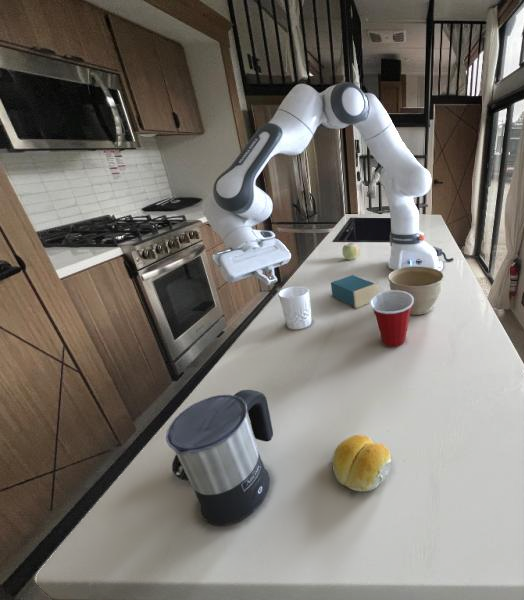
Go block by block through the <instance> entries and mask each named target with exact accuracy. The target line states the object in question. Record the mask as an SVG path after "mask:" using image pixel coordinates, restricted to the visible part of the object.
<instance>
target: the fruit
mask: <svg viewBox="0 0 524 600" xmlns="http://www.w3.org/2000/svg"><path fill="white" fill-rule="evenodd" d="M341 251H342V256H343V257H344V258H345V259H346V260H355V259H357V258H359V255H360V247H359V245H358V244H356V243H354V242H349V243H346V244H344V245H343V247H342V250H341Z"/></svg>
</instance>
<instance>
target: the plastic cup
mask: <svg viewBox="0 0 524 600" xmlns="http://www.w3.org/2000/svg"><path fill="white" fill-rule="evenodd" d="M413 303H414V298H413V296H412V295H411V294H409V293H407V292H405V291H399V290H392V291H391V290H386V291H385V290H384V291H381V292H378V294H377V295H375V296H374V297H372V298H371V299H370V303H368V304H369V306H370V308H371V310H372V311H373V314H374V316H375V320H376V324H377V327H378V332H379V334H380V339H381V342H382V343H383V345H385V346H386V347H390V348H397V347H400V346H402V345H404V343H405V341H406V336H407V332H408V328H409V327H408V326H409V322H410V315H411V314H410V311H411V307H412V305H413Z"/></svg>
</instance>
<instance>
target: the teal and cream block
mask: <svg viewBox="0 0 524 600" xmlns="http://www.w3.org/2000/svg"><path fill="white" fill-rule="evenodd" d="M330 287H331V288H330V289H331V295H332V297H333V298H335V299H338V300H339V301H342V302H344V303H346V304H348V305H350V306H352V307H354V308H355V309H358V308H360V307H363V306H365V305H367V304H369V303H370V299H371V298H372V297H374V296H375V295H377V294H379V283H377V282H372V281H370V280H367V279H364V278H361V277H358V276H357V275H354V274H351V275H348V276H346V277H343V278H340V279H337V280H334V281H331V282H330Z"/></svg>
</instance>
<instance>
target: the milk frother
mask: <svg viewBox="0 0 524 600" xmlns="http://www.w3.org/2000/svg"><path fill="white" fill-rule="evenodd" d="M267 399H268V398H267V397H266V395H265V394H264V393H263V392H261V391H258V390H254V389H242V390H239V391H237V392H235V393H234V394H218V395H214V396H210V397H207V398H204V399H202V400H199V401H197V402H194V403H193V404H191V405H190V406H188V407H187V408H185V409H183V411H181V412H180V413H179V414H178V415H177V416H176V417H175V418H174V419H173V420H172V421H171V423H170V424H169V426H168V428H167V430H166V434H165V435H166V436H165V441H166V443H167V445H168V447H169V448H171V449H172V450H173V451H174V452H175V456H174V458H173V460H172V465H171V467H172V468H171V469H172V473H173V475H174V476H175V477H176V478H178V479H179V480H182V481H188V482H189V483H190V485H191V488H192V490H193V492H194V493H195V496H196V498H197V500H198V503H199V506H200V508H199V509H200V513H201V516H202V518H203V519H204V521H205V522H206V523H208V524H210V525H213V526H217V527H226V526H230V525H233V524H236V523H239V522H240V521H241V522H242V520H244V519H246V518H247V517H249V516H250V515H252V513H254V512H255V511H256V510H257V509H258V508H259V507H260V506H261V504H262V503H263V501H264V500H265V498H266V496H267V494H268V492H269V489H270V484H271V483H270V482H271V481H270V475H269V472H268V470H267V469H266V468H265V465H264V463H263V460H262V457H261V454H260V453H259V448H258V446H257V442H256V440H259V441H262V442H266V443H267V442H271V440H272V438H273V436H274V431H273V425H272V420H271V415H270V410H269V404H268V400H267ZM248 418H249V419H248ZM249 421H250V422H249Z"/></svg>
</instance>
